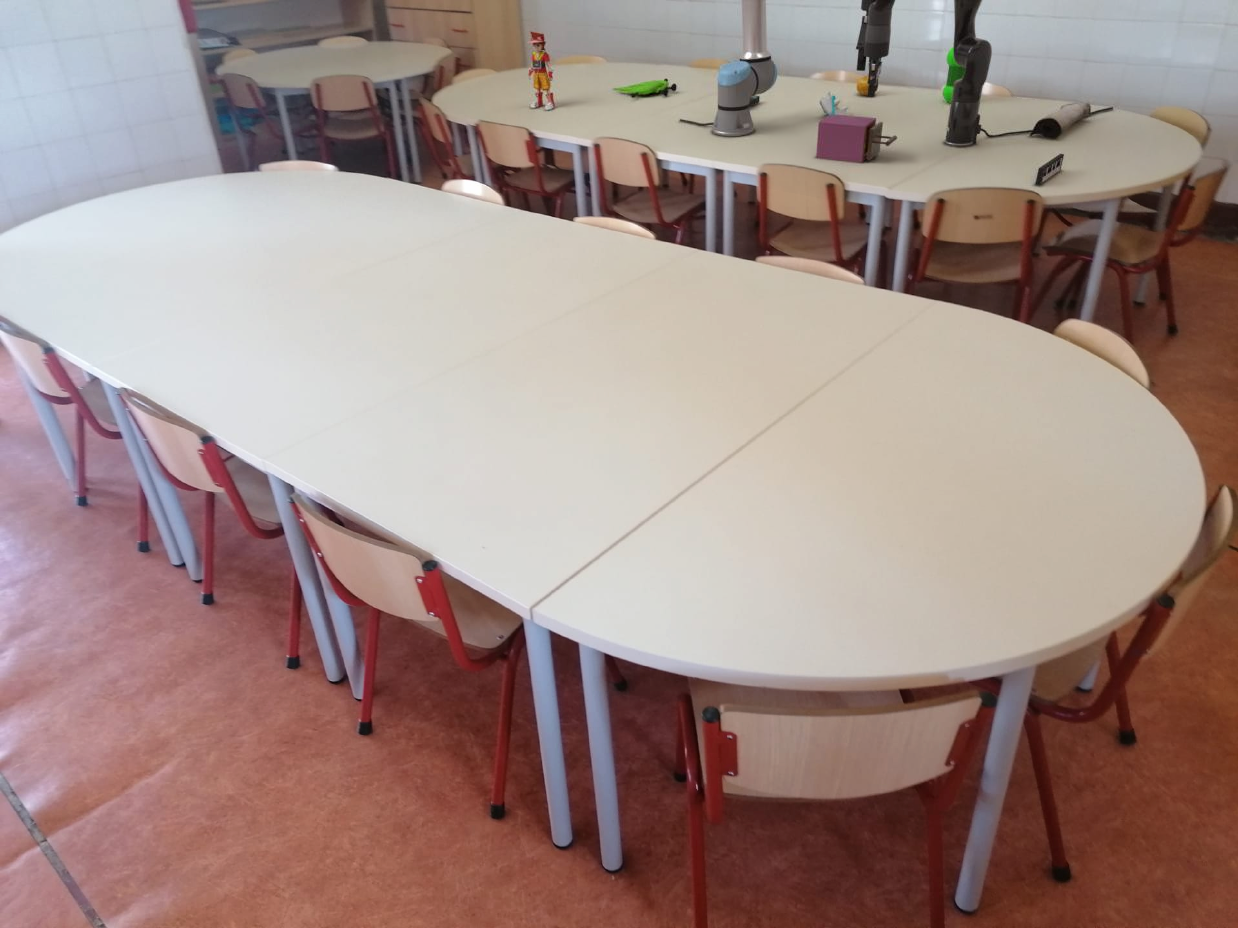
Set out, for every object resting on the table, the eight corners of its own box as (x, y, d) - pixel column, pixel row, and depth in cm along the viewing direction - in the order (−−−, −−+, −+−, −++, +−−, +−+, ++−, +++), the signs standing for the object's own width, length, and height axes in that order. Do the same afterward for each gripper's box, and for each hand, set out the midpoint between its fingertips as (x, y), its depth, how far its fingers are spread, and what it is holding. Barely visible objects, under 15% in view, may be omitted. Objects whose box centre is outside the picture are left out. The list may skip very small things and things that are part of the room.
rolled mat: (1058, 107, 328) (1083, 90, 320) (1071, 128, 329) (1097, 111, 320) (1025, 130, 311) (1051, 112, 303) (1040, 152, 311) (1065, 134, 303)
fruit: (851, 87, 368) (863, 69, 365) (853, 91, 376) (865, 73, 373) (868, 99, 367) (880, 81, 364) (870, 102, 374) (882, 84, 371)
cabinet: (872, 153, 305) (876, 118, 298) (861, 162, 297) (865, 126, 290) (827, 149, 312) (830, 114, 305) (816, 157, 304) (818, 122, 298)
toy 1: (525, 109, 381) (517, 32, 364) (534, 104, 388) (527, 28, 371) (550, 110, 377) (543, 32, 360) (559, 105, 384) (553, 28, 367)
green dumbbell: (973, 101, 354) (984, 32, 339) (955, 106, 349) (966, 36, 335) (952, 97, 361) (962, 29, 346) (934, 102, 356) (944, 33, 342)
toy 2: (686, 85, 398) (631, 84, 414) (685, 72, 395) (629, 72, 411) (651, 104, 381) (596, 103, 397) (650, 92, 378) (594, 91, 394)
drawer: (895, 154, 300) (899, 123, 294) (886, 162, 293) (890, 131, 288) (837, 147, 309) (840, 118, 304) (827, 155, 302) (830, 125, 297)
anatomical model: (814, 91, 345) (840, 84, 344) (817, 118, 351) (843, 112, 350) (825, 101, 333) (851, 93, 332) (828, 129, 339) (854, 122, 338)
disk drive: (744, 111, 360) (759, 102, 370) (744, 104, 358) (760, 95, 368) (721, 109, 365) (737, 100, 375) (721, 102, 363) (737, 93, 373)
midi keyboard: (1039, 185, 269) (1043, 168, 266) (1035, 184, 270) (1038, 168, 267) (1060, 170, 279) (1064, 154, 277) (1056, 169, 280) (1060, 153, 277)
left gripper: (873, 3, 282) (866, 75, 294) (896, -9, 299) (888, 59, 311) (850, 2, 285) (844, 73, 297) (873, -9, 302) (867, 58, 315)
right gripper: (888, 44, 273) (882, 100, 283) (891, 35, 284) (886, 89, 293) (862, 44, 275) (857, 99, 285) (867, 35, 286) (862, 89, 296)
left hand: (866, 66), depth 304 cm, fingers open, 13 cm apart
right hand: (872, 94), depth 289 cm, fingers open, 8 cm apart
